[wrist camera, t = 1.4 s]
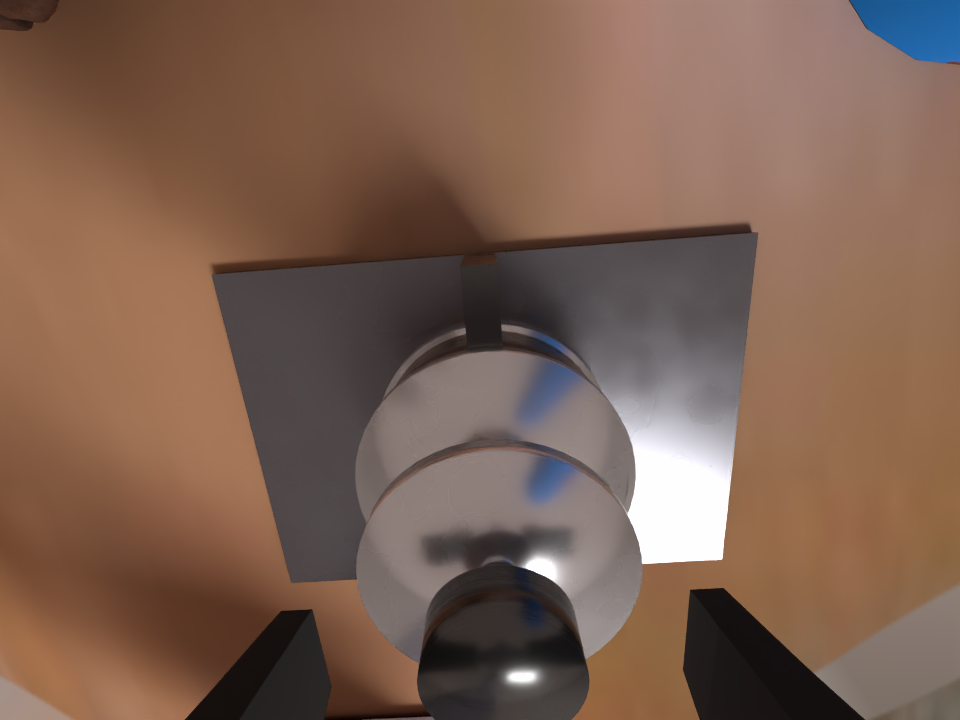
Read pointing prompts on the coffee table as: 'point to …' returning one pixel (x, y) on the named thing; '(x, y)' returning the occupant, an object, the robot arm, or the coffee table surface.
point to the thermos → (916, 26)
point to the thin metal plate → (496, 379)
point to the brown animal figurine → (25, 13)
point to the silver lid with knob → (499, 577)
